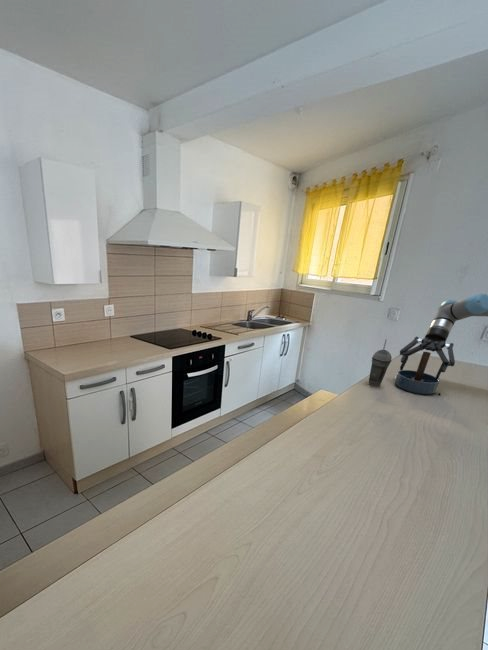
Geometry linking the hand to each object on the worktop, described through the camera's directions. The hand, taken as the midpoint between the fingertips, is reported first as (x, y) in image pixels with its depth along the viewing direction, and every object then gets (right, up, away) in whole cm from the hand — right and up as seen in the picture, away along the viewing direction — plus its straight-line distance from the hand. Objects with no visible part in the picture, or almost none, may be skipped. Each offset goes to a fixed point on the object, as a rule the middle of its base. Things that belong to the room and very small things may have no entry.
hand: (418, 373), depth 134 cm
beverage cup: (-15, -5, +6) cm, 17 cm away
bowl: (+1, -6, +5) cm, 8 cm away
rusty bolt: (+2, -5, +5) cm, 8 cm away
